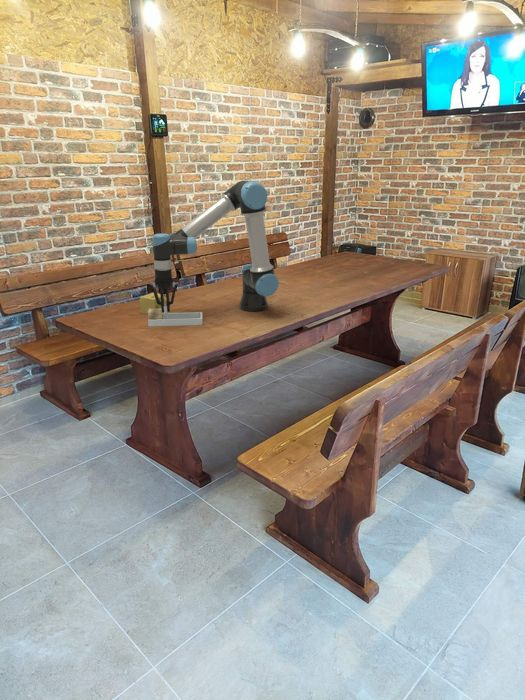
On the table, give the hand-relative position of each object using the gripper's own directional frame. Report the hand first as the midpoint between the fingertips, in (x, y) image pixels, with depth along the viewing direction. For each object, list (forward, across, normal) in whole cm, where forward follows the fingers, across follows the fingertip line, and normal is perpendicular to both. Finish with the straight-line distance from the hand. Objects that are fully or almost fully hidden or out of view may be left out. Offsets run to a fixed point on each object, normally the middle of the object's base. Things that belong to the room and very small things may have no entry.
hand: (166, 318), depth 230 cm
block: (+2, +5, 0) cm, 5 cm away
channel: (+3, -4, 0) cm, 5 cm away
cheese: (+4, +7, -18) cm, 20 cm away
